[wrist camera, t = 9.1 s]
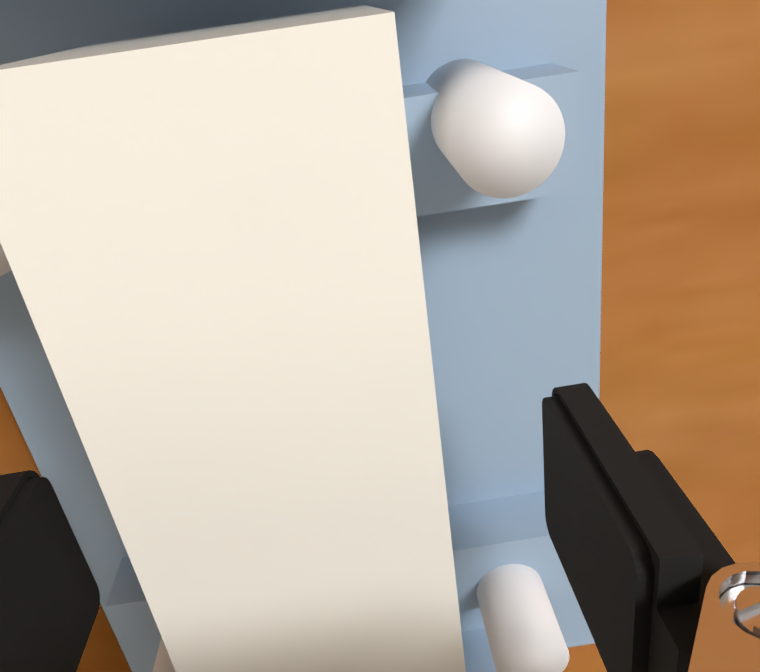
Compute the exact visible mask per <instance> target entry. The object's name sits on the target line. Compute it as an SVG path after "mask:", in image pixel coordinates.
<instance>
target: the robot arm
mask: <svg viewBox="0 0 760 672" xmlns="http://www.w3.org/2000/svg"><path fill="white" fill-rule="evenodd" d="M542 423H543V459H544V494H545V519H546V524H547V529H548V532H549V535H550V538H551V540H552V543H553V545H554V547H555V550H556V552H557V555H558V557H559V559H560V562H561V564H562V566H563V569H564V571H565V573H566V576H567V578H568V580H569V583H570V585H571V587H572V590H573V592H574V595H575V597H576V599H577V602H578V604H579V606H580V609H581V611H582V613H583V616H584V618H585V620H586V623H587V625H588V627H589V630H590V632H591V634H592V637H593V639H594V642H595V644H596V646H597V649H598V651H599V653H600V656H601V658H602V660H603V663H604V665H605V667H606V670H607V672H760V563H755V562H750V563H735V562H734V561H733V559H732V558H731V557H730V555H729V554H728V552H727V551H726V550H725V548H724V547H723V546H722V544H721V543H720V542H719V540H718V539H717V537H716V536H715V535H714V533H713V532H712V531H711V529H710V528H709V526H708V525H707V524H706V522H705V521H704V520H703V518H702V517H701V516H700V514H699V513H698V511H697V510H696V509H695V507H694V506H693V505H692V503H691V502H690V500H689V499H688V498H687V496H686V495H685V494H684V492H683V491H682V490H681V488H680V487H679V485H678V484H677V483H676V481H675V480H674V479H673V477H672V476H671V475H670V473H669V472H668V470H667V469H666V468H665V466H664V465H663V464H662V462H661V461H660V459H659V458H658V457H657V456H656V455H655V454H654V453H653V452H652V451H649V450H644V451H638V452H635V451H634V450H633V448H632V447H631V445H630V444H629V442H628V441H627V440H626V438H625V437H624V435H623V434H622V432H621V431H620V429H619V428H618V427H617V425H616V424H615V422H614V421H613V419H612V418H611V416H610V415H609V413H608V412H607V411H606V409H605V408H604V406H603V405H602V403H601V402H600V400H599V399H598V398H597V396H596V395H595V393H594V392H593V390H592V389H591V387H590V386H589V385H588V384H587V383H580V384H574V385H568V386H561V387H555V388H554V389H553V390H552V396H551V397H545V398H543V400H542ZM99 604H100V593H99V588H98V585H97V583H96V581H95V579H94V576H93V574H92V572H91V570H90V568H89V565H88V563H87V561H86V559H85V557H84V554H83V552H82V550H81V548H80V546H79V544H78V541H77V539H76V537H75V535H74V533H73V530H72V528H71V526H70V524H69V522H68V519H67V517H66V515H65V513H64V511H63V508H62V506H61V504H60V502H59V500H58V497H57V495H56V493H55V491H54V489H53V487H52V484H51V483H50V481H49V480H48V479H47V478H46V477H39V475H38V474H37V473H36V472H35V471H31V470H30V471H24V472H17V473H11V474H5V475H0V672H76V670H77V668H78V665H79V662H80V659H81V657H82V654H83V651H84V648H85V645H86V643H87V640H88V637H89V634H90V632H91V629H92V626H93V623H94V620H95V618H96V615H97V612H98V609H99Z"/></svg>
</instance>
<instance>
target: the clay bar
mask: <svg viewBox="0 0 760 672" xmlns="http://www.w3.org/2000/svg"><path fill="white" fill-rule="evenodd" d="M0 243H1V245H2V248H3V250H4V252H5V255H6V257H7V260H8V262H9V265H10V267H11V270H12V272H13V274H14V277H15V279H16V282H17V284H18V287H19V289H20V292H21V294H22V296H23V299H24V301H25V304H26V306H27V309H28V311H29V314H30V316H31V318H32V321H33V323H34V326H35V328H36V331H37V333H38V336H39V338H40V340H41V343H42V345H43V348H44V350H45V353H46V355H47V358H48V360H49V363H50V365H51V367H52V370H53V372H54V375H55V377H56V380H57V382H58V385H59V387H60V389H61V392H62V394H63V397H64V399H65V402H66V404H67V407H68V409H69V411H70V414H71V416H72V419H73V421H74V424H75V426H76V429H77V431H78V433H79V436H80V438H81V441H82V443H83V446H84V448H85V451H86V453H87V456H88V458H89V460H90V463H91V465H92V468H93V470H94V473H95V475H96V478H97V480H98V482H99V485H100V487H101V490H102V492H103V495H104V497H105V500H106V502H107V504H108V507H109V509H110V512H111V514H112V517H113V519H114V522H115V524H116V526H117V529H118V531H119V534H120V536H121V539H122V541H123V544H124V546H125V548H126V551H127V553H128V556H129V558H130V561H131V563H132V566H133V568H134V571H135V573H136V575H137V578H138V580H139V583H140V585H141V588H142V590H143V593H144V595H145V597H146V600H147V602H148V605H149V607H150V610H151V612H152V615H153V617H154V619H155V622H156V624H157V627H158V629H159V632H160V634H161V637H162V639H163V641H164V644H165V646H166V649H167V651H168V654H169V656H170V659H171V661H172V664H173V666H174V668H175V671H176V672H466V669H465V660H464V650H463V641H462V632H461V623H460V613H459V604H458V595H457V586H456V576H455V567H454V558H453V549H452V540H451V530H450V521H449V512H448V503H447V493H446V484H445V475H444V466H443V456H442V447H441V438H440V429H439V419H438V410H437V401H436V392H435V383H434V373H433V364H432V355H431V346H430V336H429V327H428V318H427V309H426V299H425V290H424V281H423V272H422V262H421V253H420V244H419V235H418V226H417V216H416V207H415V198H414V189H413V179H412V170H411V161H410V152H409V142H408V133H407V124H406V115H405V105H404V96H403V87H402V78H401V69H400V59H399V50H398V41H397V32H396V22H395V13H394V12H393V11H388V10H384V9H380V8H375V7H371V6H367V5H355V6H348V7H341V8H334V9H328V10H321V11H314V12H307V13H300V14H293V15H287V16H280V17H273V18H266V19H259V20H253V21H246V22H239V23H232V24H225V25H218V26H212V27H205V28H198V29H191V30H184V31H178V32H171V33H164V34H157V35H150V36H143V37H137V38H130V39H123V40H116V41H109V42H102V43H98V44H93V45H88V46H84V47H79V48H75V49H70V50H66V51H61V52H57V53H52V54H48V55H43V56H38V57H34V58H29V59H25V60H20V61H16V62H11V63H7V64H2V65H0Z"/></svg>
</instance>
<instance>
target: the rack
mask: <svg viewBox="0 0 760 672" xmlns="http://www.w3.org/2000/svg"><path fill="white" fill-rule="evenodd" d="M355 5H367V6H371V7H375V8H380V9H384V10H388V11H393V12H394V13H395V22H396V32H397V41H398V50H399V59H400V69H401V78H402V87H403V96H404V105H405V115H406V124H407V133H408V142H409V152H410V161H411V170H412V179H413V189H414V198H415V207H416V216H417V226H418V235H419V244H420V253H421V262H422V272H423V281H424V290H425V299H426V309H427V318H428V327H429V336H430V346H431V355H432V364H433V373H434V383H435V392H436V401H437V410H438V419H439V429H440V438H441V447H442V456H443V466H444V475H445V484H446V493H447V503H448V512H449V521H450V530H451V540H452V549H453V558H454V567H455V576H456V586H457V595H458V604H459V613H460V623H461V632H462V641H463V650H464V660H465V669H466V672H562V671H563V670H564V669H565V667H566V666H567V664H568V661H569V651H568V647H574V646H580V645H586V644H593V643H595V642H594V639H593V637H592V634H591V632H590V630H589V627H588V625H587V623H586V620H585V618H584V616H583V613H582V611H581V609H580V606H579V604H578V602H577V599H576V597H575V595H574V592H573V590H572V587H571V585H570V583H569V580H568V578H567V576H566V573H565V571H564V569H563V566H562V564H561V562H560V559H559V557H558V555H557V552H556V550H555V547H554V545H553V543H552V540H551V538H550V535H549V532H548V529H547V524H546V519H545V494H544V459H543V423H542V400H543V398H545V397H551V396H552V390H553V389H554V388H555V387H561V386H568V385H574V384H580V383H587V384H588V385H589V386H590V387H591V389H592V390H593V392H594V393H595V395H596V396H597V398H598V399H599V385H600V330H601V274H602V218H603V163H604V107H605V51H606V0H0V65H2V64H7V63H11V62H16V61H20V60H25V59H29V58H34V57H38V56H43V55H48V54H52V53H57V52H61V51H66V50H70V49H75V48H79V47H84V46H88V45H93V44H98V43H102V42H109V41H116V40H123V39H130V38H137V37H143V36H150V35H157V34H164V33H171V32H178V31H184V30H191V29H198V28H205V27H212V26H218V25H225V24H232V23H239V22H246V21H253V20H259V19H266V18H273V17H280V16H287V15H293V14H300V13H307V12H314V11H321V10H328V9H334V8H341V7H348V6H355ZM0 387H1V389H2V391H3V394H4V396H5V398H6V400H7V402H8V404H9V407H10V409H11V411H12V413H13V415H14V417H15V420H16V422H17V424H18V426H19V428H20V430H21V433H22V435H23V437H24V439H25V441H26V443H27V446H28V448H29V450H30V452H31V454H32V456H33V459H34V461H35V463H36V465H37V467H38V469H39V472H40V474H41V476H42V477H46V478H47V479H48V480H49V481H50V483H51V484H52V487H53V489H54V491H55V493H56V495H57V497H58V500H59V502H60V504H61V506H62V508H63V511H64V513H65V515H66V517H67V519H68V522H69V524H70V526H71V528H72V530H73V533H74V535H75V537H76V539H77V541H78V544H79V546H80V548H81V550H82V552H83V554H84V557H85V559H86V561H87V563H88V565H89V568H90V570H91V572H92V574H93V576H94V579H95V581H96V583H97V585H98V588H99V593H100V604H101V606H102V608H103V610H104V612H105V614H106V617H107V619H108V621H109V623H110V625H111V627H112V630H113V632H114V634H115V636H116V638H117V640H118V643H119V645H120V647H121V649H122V651H123V653H124V656H125V658H126V660H127V662H128V664H129V666H130V669H131V671H132V672H176V671H175V668H174V666H173V664H172V661H171V659H170V656H169V654H168V651H167V649H166V646H165V644H164V641H163V639H162V637H161V634H160V632H159V629H158V627H157V624H156V622H155V619H154V617H153V615H152V612H151V610H150V607H149V605H148V602H147V600H146V597H145V595H144V593H143V590H142V588H141V585H140V583H139V580H138V578H137V575H136V573H135V571H134V568H133V566H132V563H131V561H130V558H129V556H128V553H127V551H126V548H125V546H124V544H123V541H122V539H121V536H120V534H119V531H118V529H117V526H116V524H115V522H114V519H113V517H112V514H111V512H110V509H109V507H108V504H107V502H106V500H105V497H104V495H103V492H102V490H101V487H100V485H99V482H98V480H97V478H96V475H95V473H94V470H93V468H92V465H91V463H90V460H89V458H88V456H87V453H86V451H85V448H84V446H83V443H82V441H81V438H80V436H79V433H78V431H77V429H76V426H75V424H74V421H73V419H72V416H71V414H70V411H69V409H68V407H67V404H66V402H65V399H64V397H63V394H62V392H61V389H60V387H59V385H58V382H57V380H56V377H55V375H54V372H53V370H52V367H51V365H50V363H49V360H48V358H47V355H46V353H45V350H44V348H43V345H42V343H41V340H40V338H39V336H38V333H37V331H36V328H35V326H34V323H33V321H32V318H31V316H30V314H29V311H28V309H27V306H26V304H25V301H24V299H23V296H22V294H21V292H20V289H19V287H18V284H17V282H16V279H15V277H14V274H13V272H12V270H11V267H10V265H9V262H8V260H7V257H6V255H5V252H4V250H3V248H2V245H1V243H0Z"/></svg>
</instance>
